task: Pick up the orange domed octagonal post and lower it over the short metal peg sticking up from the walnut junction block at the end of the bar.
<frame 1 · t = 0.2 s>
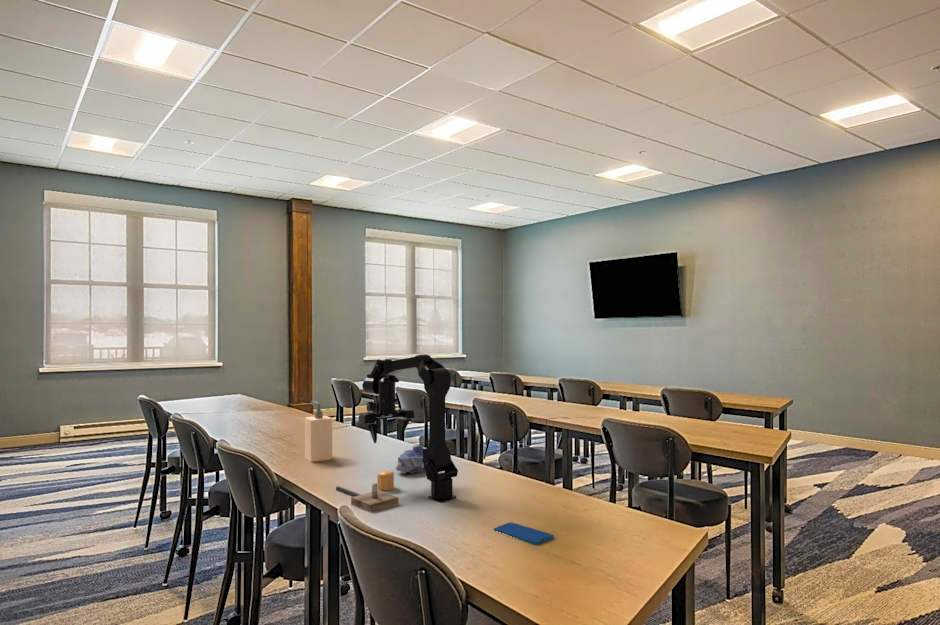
hand: (387, 441, 197), 14 cm above the table, tool pointing down, fingers open, 9 cm apart
mineral: (413, 471, 211), on the table
soap dispenser: (317, 457, 232), on the table
peg block: (374, 504, 173), on the table
smartphone: (523, 536, 148), on the table
bar: (350, 494, 182), on the table
orange domed octagonal post: (385, 488, 189), on the table
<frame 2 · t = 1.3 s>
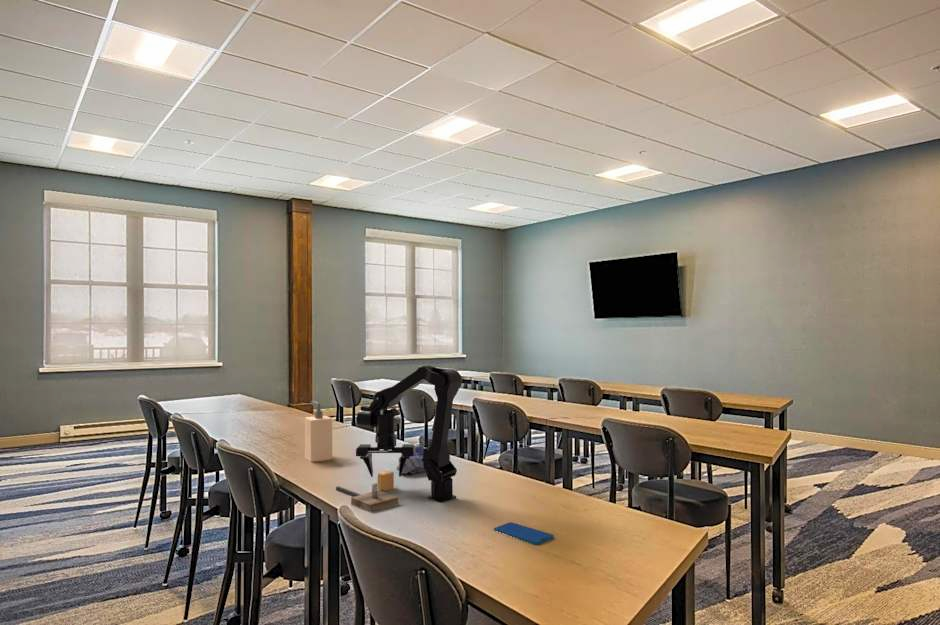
hand: (386, 476, 189), 4 cm above the table, tool pointing down, fingers open, 9 cm apart
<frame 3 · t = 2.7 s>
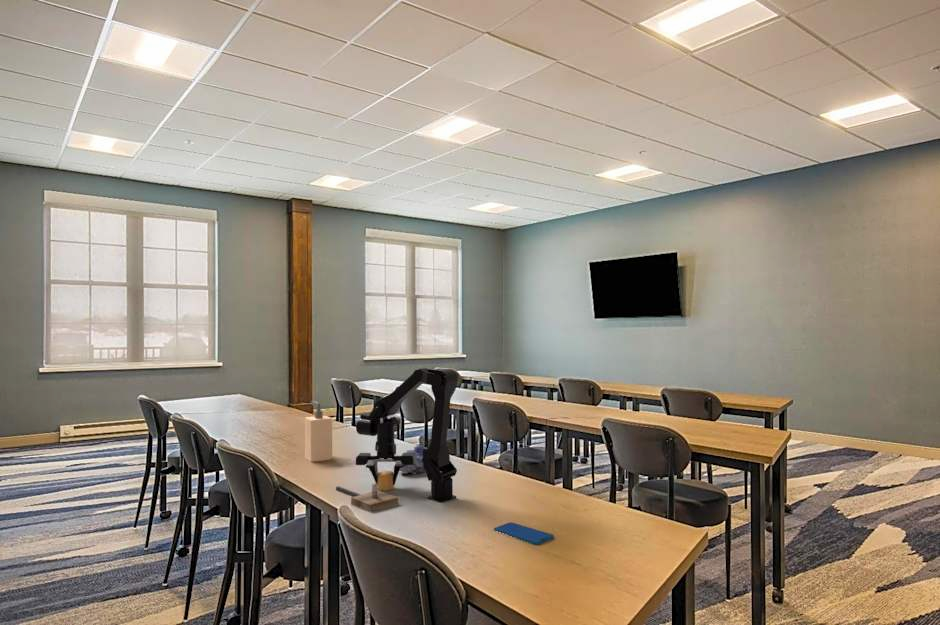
hand: (385, 485, 189), 1 cm above the table, tool pointing down, fingers closed on orange domed octagonal post, 5 cm apart
orange domed octagonal post: (385, 488, 189), on the table, touching gripper
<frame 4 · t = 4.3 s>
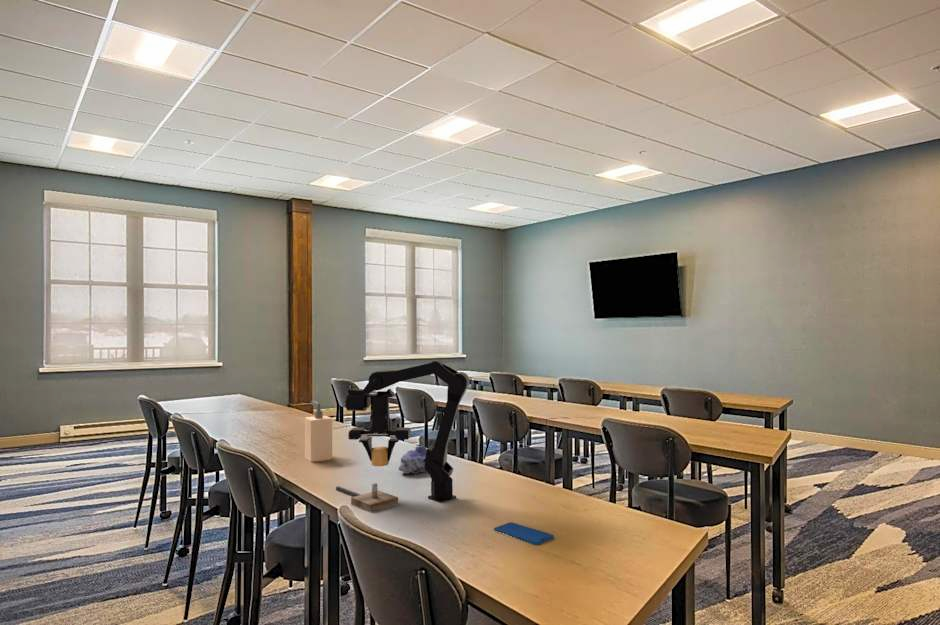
hand: (380, 461, 181), 11 cm above the table, tool pointing down, fingers closed on orange domed octagonal post, 5 cm apart
orange domed octagonal post: (380, 464, 181), point 10 cm above the table, touching gripper
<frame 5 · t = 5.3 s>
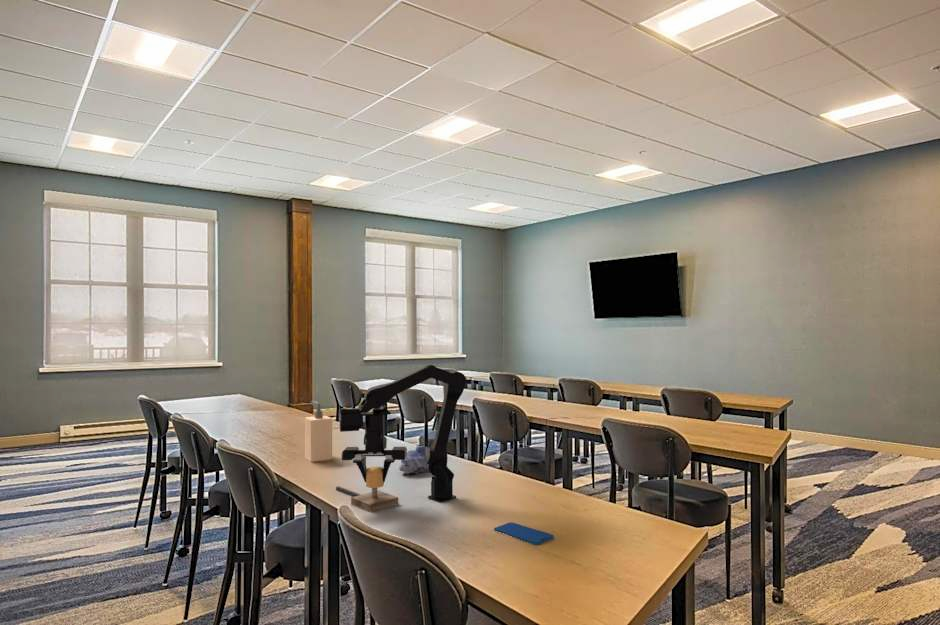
hand: (375, 482, 173), 7 cm above the table, tool pointing down, fingers closed on orange domed octagonal post, 5 cm apart
orange domed octagonal post: (375, 485, 173), point 6 cm above the table, touching gripper
when the fingers open (4 cm above the table, at t = 6.1 s): orange domed octagonal post drops 1 cm, resting on peg block.
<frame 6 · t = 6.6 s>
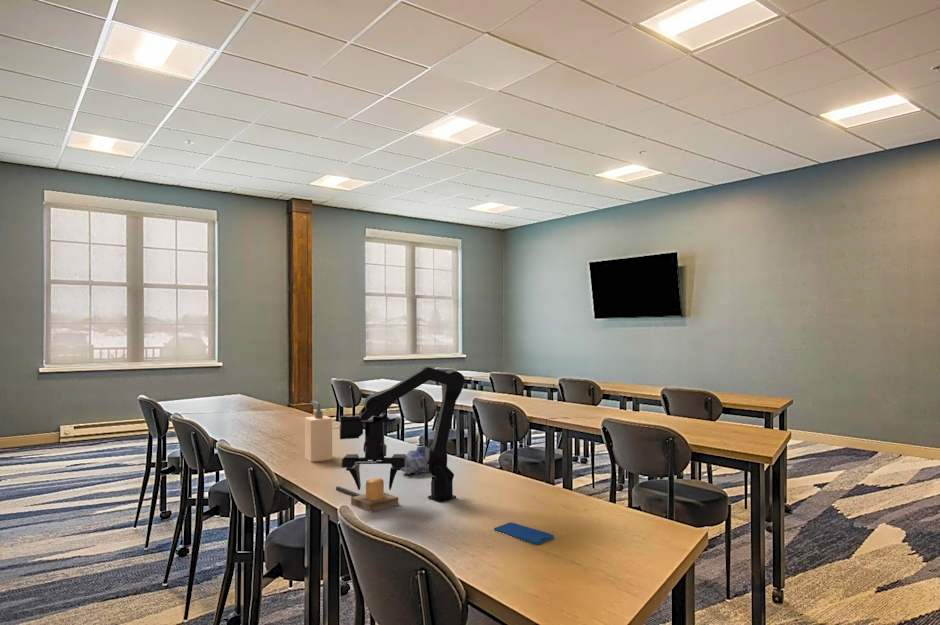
hand: (374, 489, 173), 4 cm above the table, tool pointing down, fingers open, 9 cm apart
orange domed octagonal post: (374, 497, 173), point 2 cm above the table, touching peg block
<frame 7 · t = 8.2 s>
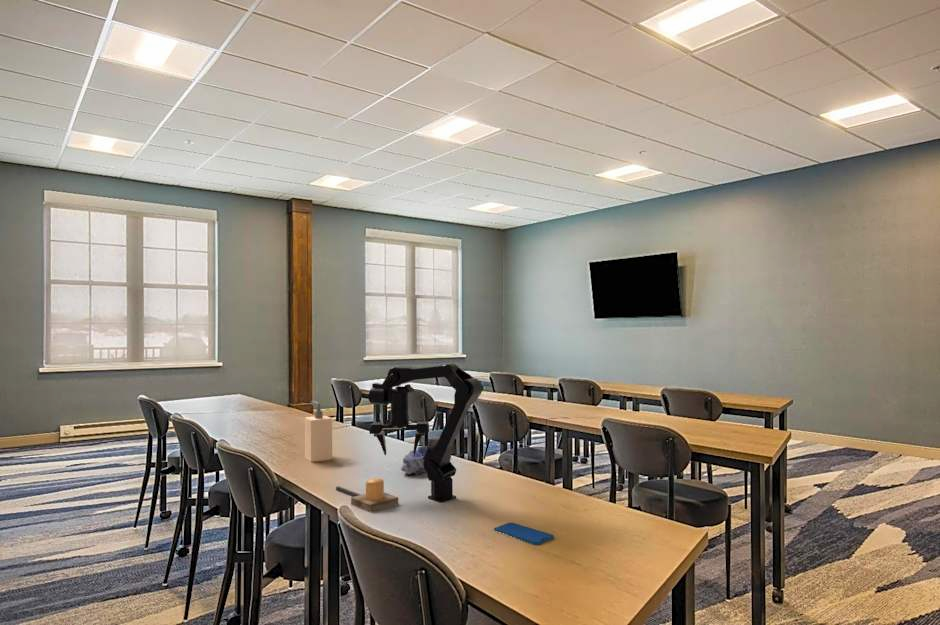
hand: (399, 454, 185), 12 cm above the table, tool pointing down, fingers open, 9 cm apart
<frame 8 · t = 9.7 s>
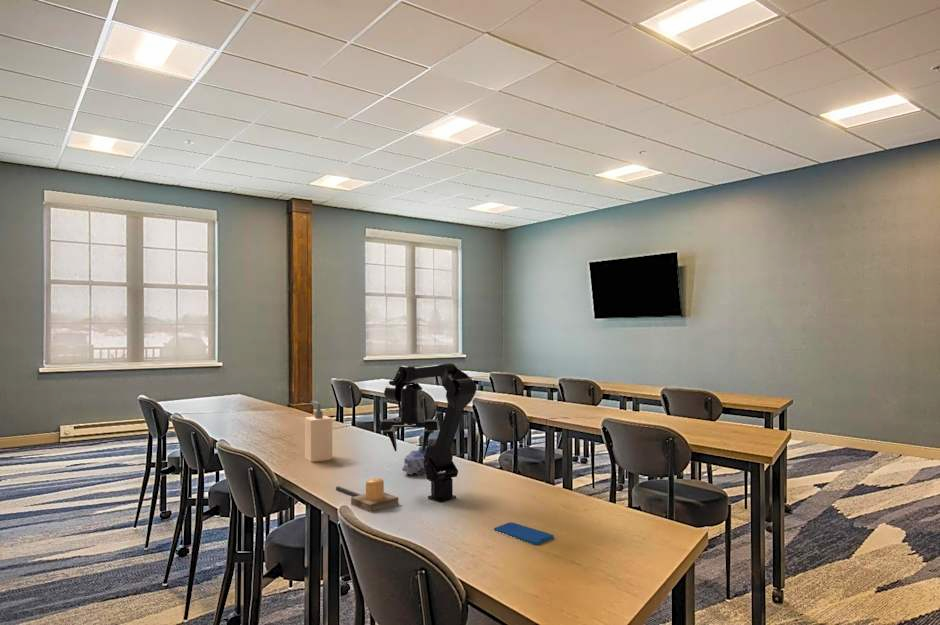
hand: (409, 451, 190), 12 cm above the table, tool pointing down, fingers open, 9 cm apart
at the end: orange domed octagonal post 0.0 cm off-centre on the peg block, point 2.0 cm above the peg block's base; orange domed octagonal post tilted 0°; the gripper is holding nothing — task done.
